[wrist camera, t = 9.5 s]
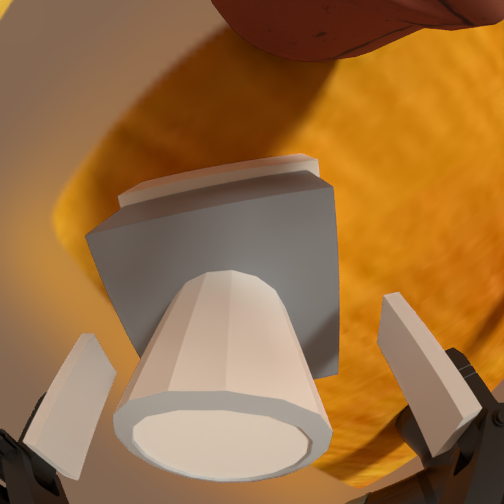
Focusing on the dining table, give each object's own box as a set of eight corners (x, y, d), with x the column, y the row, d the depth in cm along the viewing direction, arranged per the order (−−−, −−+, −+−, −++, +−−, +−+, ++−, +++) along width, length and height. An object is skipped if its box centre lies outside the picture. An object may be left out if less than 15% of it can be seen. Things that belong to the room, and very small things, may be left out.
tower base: (313, 292, 25) (327, 328, 20) (180, 311, 25) (170, 348, 20) (300, 153, 20) (317, 159, 15) (143, 181, 20) (117, 196, 16)
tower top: (320, 324, 20) (337, 374, 15) (175, 345, 20) (162, 395, 16) (306, 169, 15) (333, 186, 11) (124, 206, 16) (84, 235, 11)
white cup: (163, 362, 14) (136, 472, 8) (153, 249, 12) (81, 371, 5) (285, 372, 15) (302, 483, 9) (312, 263, 12) (370, 392, 6)
